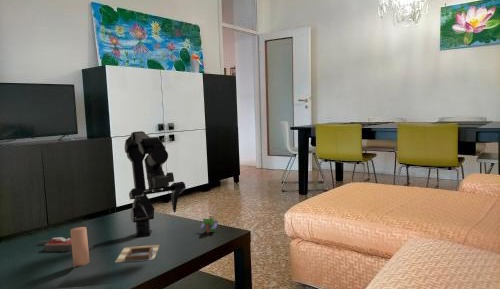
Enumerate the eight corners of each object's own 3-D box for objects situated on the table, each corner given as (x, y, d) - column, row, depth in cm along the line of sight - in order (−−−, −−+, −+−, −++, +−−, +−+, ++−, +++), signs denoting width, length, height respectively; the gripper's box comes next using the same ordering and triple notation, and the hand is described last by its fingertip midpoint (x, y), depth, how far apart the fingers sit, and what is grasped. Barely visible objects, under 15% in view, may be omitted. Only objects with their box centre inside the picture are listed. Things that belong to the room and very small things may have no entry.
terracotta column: (76, 263, 129) (73, 227, 128) (91, 262, 130) (88, 226, 129) (71, 270, 124) (67, 232, 123) (86, 268, 125) (83, 230, 124)
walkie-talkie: (87, 244, 150) (40, 244, 153) (86, 233, 150) (39, 233, 152) (74, 252, 142) (25, 252, 144) (73, 241, 141) (24, 241, 144)
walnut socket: (130, 252, 134) (130, 248, 134) (152, 250, 135) (152, 246, 135) (125, 261, 126) (125, 257, 126) (149, 259, 127) (148, 255, 127)
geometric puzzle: (213, 232, 150) (216, 213, 154) (197, 231, 151) (200, 213, 155) (218, 237, 156) (220, 219, 160) (202, 237, 157) (205, 219, 161)
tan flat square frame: (124, 250, 140) (124, 247, 140) (160, 247, 141) (159, 244, 141) (114, 266, 125) (114, 262, 125) (153, 263, 127) (153, 259, 126)
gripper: (131, 168, 121) (138, 216, 118) (186, 162, 130) (194, 206, 126) (126, 176, 131) (132, 220, 127) (177, 170, 140) (185, 211, 136)
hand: (161, 214), depth 129 cm, fingers open, 9 cm apart
